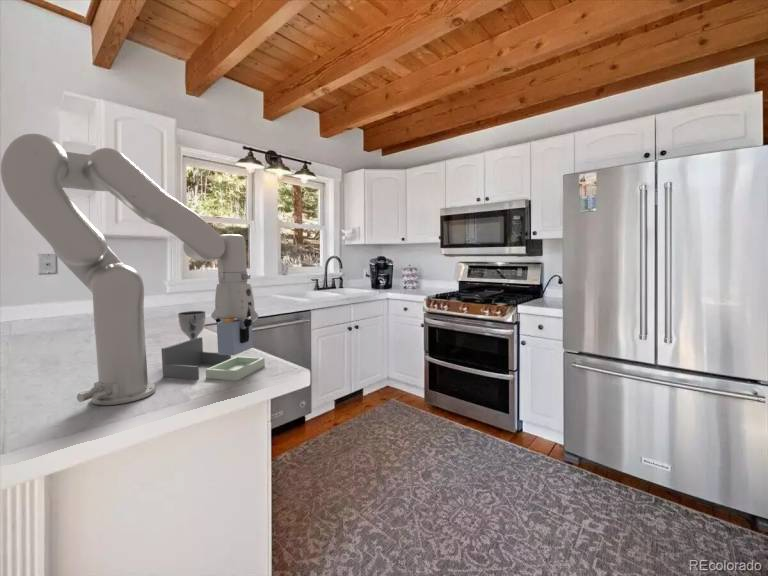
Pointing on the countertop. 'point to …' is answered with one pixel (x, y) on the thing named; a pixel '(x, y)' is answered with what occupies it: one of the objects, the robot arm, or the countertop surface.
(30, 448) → the countertop surface
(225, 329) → the slate blue upright block
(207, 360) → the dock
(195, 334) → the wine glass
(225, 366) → the tray
